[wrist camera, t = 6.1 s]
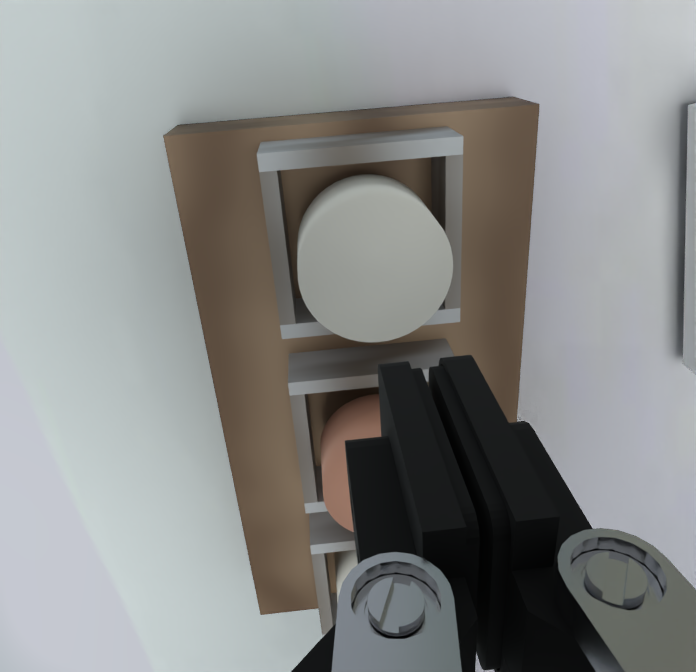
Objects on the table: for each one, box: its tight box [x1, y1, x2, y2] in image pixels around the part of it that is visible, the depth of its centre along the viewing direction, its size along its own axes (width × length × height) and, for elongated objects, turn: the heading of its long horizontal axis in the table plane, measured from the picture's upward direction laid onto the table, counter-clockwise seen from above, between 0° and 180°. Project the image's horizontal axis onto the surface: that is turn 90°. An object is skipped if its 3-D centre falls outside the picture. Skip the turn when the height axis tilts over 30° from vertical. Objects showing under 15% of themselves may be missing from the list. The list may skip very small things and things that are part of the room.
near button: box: [297, 174, 453, 342], centre depth 20 cm, size 5×5×3 cm
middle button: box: [320, 394, 381, 532], centre depth 24 cm, size 5×5×3 cm
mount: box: [163, 97, 539, 637], centre depth 28 cm, size 14×26×6 cm, turn 4°
